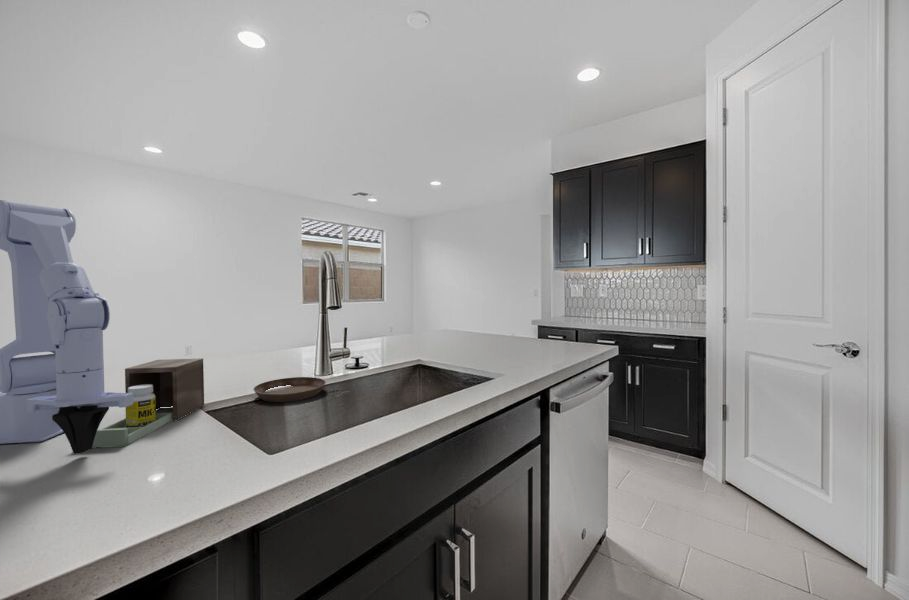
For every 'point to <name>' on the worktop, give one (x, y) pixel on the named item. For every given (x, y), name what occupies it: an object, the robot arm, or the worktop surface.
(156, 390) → the wooden open box
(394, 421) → the worktop surface
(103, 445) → the tray
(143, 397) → the supplement bottle
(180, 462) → the worktop surface
